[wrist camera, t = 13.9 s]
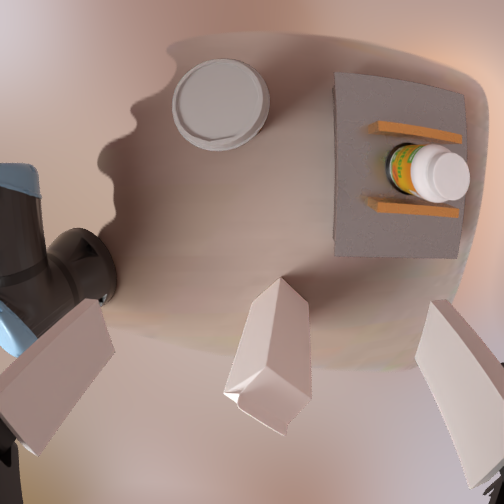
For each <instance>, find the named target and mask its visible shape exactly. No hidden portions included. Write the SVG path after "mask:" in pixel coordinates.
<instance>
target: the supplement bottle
mask: <svg viewBox="0 0 504 504" xmlns="http://www.w3.org/2000/svg"><path fill="white" fill-rule="evenodd" d="M390 174H391V177H392V180H393V181H394V183H395V184H396V186H397V187H398V188H400V189H401V190H403V191H405V192H407V193H409V194H412V195H415V196H417V197H420V198H422V199H425V200H427V201H430V202H434V203H441V202H445V201H447V200H452V201H453V200H458V199H460V198H461V197H463V196H464V195H465V193H466V192H467V190H468V187H469V184H470V172H469V168H468V166H467V163H466V162H465V160H464V159H463V158H462V157H461V156H459V155H458V154H456V153H452V152H451V151H450V150H448V149H447V148H445V147H443V146H441V145H436V144H426V145H407V146H403V147H401V148H399V149H398V150H397V151H396V152H395V153H394V154H393V156H392V158H391V161H390Z"/></svg>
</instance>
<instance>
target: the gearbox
mask: <svg viewBox="0 0 504 504" xmlns="http://www.w3.org/2000/svg"><path fill="white" fill-rule="evenodd" d="M334 84H335V85H334V87H333V107H334V136H335V194H334V224H333V239H334V242H335V247H334V256H348V257H395V258H446V259H457V255H458V250H459V244H460V238H461V231H462V223H463V215H464V205H465V195H464V196H463V197H461V198H460V199H458V200H453V201H452V200H447V201H445V202H441V203H434V202H430V201H427V200H425V199H422V198H420V197H417V196H415V195H412V194H409V193H407V192H405V191H403V190H401V189H400V188H398V187H397V186H396V184H395V183H394V181H393V180H392V177H391V174H390V161H391V158H392V156H393V154H394V153H395V152H396V151H397V150H398V149H399V148H401V147H403V146H407V145H426V144H436V145H441V146H443V147H445V148H447V149H448V150H450V151H451V152H452V153H456V154H458V155H459V156H461V157H462V158H463V159H464V160H465V162H466V163H467V130H466V113H465V102H464V95H462V94H459V93H455V92H452V91H448V90H444V89H441V88H437V87H432V86H428V85H424V84H419V83H414V82H409V81H404V80H398V79H392V78H386V77H379V76H372V75H363V74H354V73H342V72H334ZM465 194H466V193H465Z"/></svg>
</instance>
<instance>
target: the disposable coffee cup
mask: <svg viewBox="0 0 504 504" xmlns="http://www.w3.org/2000/svg"><path fill="white" fill-rule="evenodd" d="M269 107H270V96H269V91H268V88H267V85H266V82H265V81H264V79H263V78H262V76H261V75H260V74H259V73H258V72H257V71H256V70H255V69H254V68H253V67H251V66H250V65H248V64H246V63H244V62H241V61H238V60H234V59H214V60H209V61H206V62H203V63H201V64H198V65H196V66H195V67H194V68H192V69H191V70H189V71H188V72H187V73H186V74H185V75H184V76H183V77H182V79H181V80H180V81H179V83H178V85H177V87H176V89H175V91H174V95H173V98H172V113H173V118H174V122H175V125H176V126H177V128H178V130H179V132H180V133H181V135H182V136H183V137H184V138H185V139H186V140H187V141H188V142H190V143H191V144H193V145H194V146H196V147H199V148H201V149H204V150H209V151H225V150H230V149H234V148H237V147H239V146H241V145H243V144H245V143H246V142H248V141H249V140H250V139H251V138H253V137H254V136H255V135H257V134H258V133H259V131H260V130H261V128H262V127H263V124H264V122H265V120H266V118H267V116H268V112H269Z"/></svg>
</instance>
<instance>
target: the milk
mask: <svg viewBox="0 0 504 504" xmlns="http://www.w3.org/2000/svg"><path fill="white" fill-rule="evenodd" d="M311 387H312V386H311V345H310V321H309V303H308V302H307V301H306V300H305V299H304V298H302V297H301V296H300V295H299V294H298V293H297V292H296V291H295V290H294V289H293V288H292V287H291V286H290V285H289V284H288V283H287V282H286V281H284V280H283V279H282V278H281V277H280V278H279V279H278V280H276V281H275V282H274V283H273V284H272V285H271V286H270V287H269V288H267V289H266V290H265V291H264V292H263V293H262V294H261V295H259V296H258V297H257V298H256V299H255V300H254V301H253V302H252V305H251V308H250V311H249V314H248V317H247V320H246V324H245V327H244V330H243V333H242V336H241V339H240V342H239V346H238V349H237V352H236V355H235V358H234V361H233V364H232V367H231V370H230V374H229V377H228V380H227V383H226V386H225V389H224V392H223V393H224V394H225V395H226V396H228V397H229V398H230V399H232V400H233V401H235V402H236V403H237V406H238V408H239V409H240V410H242V411H243V412H245V413H246V414H248V415H250V416H251V417H253V418H254V419H256V420H257V421H259V422H261V423H262V424H264V425H266V426H267V427H269V428H271V429H272V430H274V431H276V432H277V433H279V434H281V435H282V436H286V434H287V426H288V424H289V423H290V422H291V421H292V420H293V419H294V418H295V416H297V415H298V413H299V412H300V411H301V410H302V409H303V408H304V407H305V406H306V405H307V404H308V403H309V402H310V400H311V399H312V389H311Z"/></svg>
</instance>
